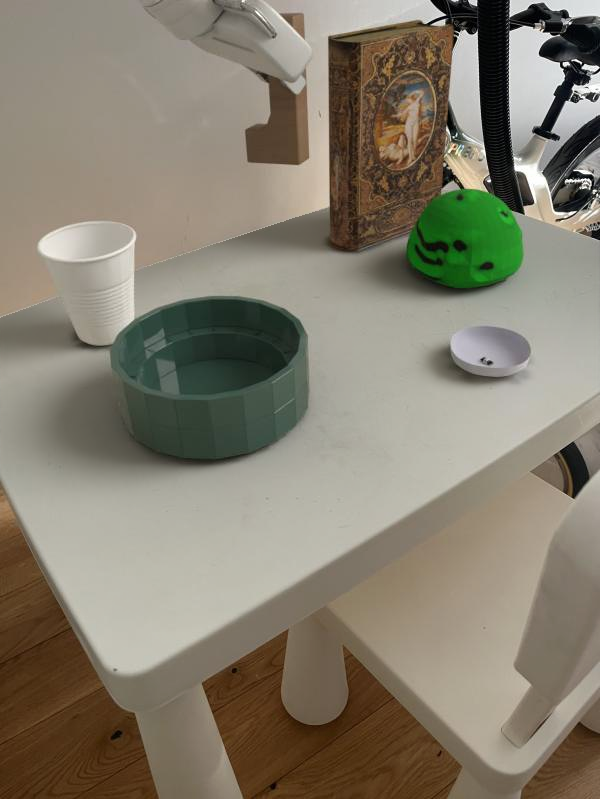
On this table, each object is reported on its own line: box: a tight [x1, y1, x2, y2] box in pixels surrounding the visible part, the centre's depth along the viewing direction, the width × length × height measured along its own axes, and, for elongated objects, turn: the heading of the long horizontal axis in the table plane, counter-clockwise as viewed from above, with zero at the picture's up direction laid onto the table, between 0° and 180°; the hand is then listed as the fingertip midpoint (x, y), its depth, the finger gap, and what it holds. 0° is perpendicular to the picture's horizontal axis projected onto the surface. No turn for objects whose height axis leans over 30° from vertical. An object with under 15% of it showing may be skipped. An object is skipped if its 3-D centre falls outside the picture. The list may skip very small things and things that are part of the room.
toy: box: [405, 188, 524, 289], centre depth 88 cm, size 14×13×10 cm
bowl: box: [109, 295, 310, 460], centre depth 67 cm, size 17×17×7 cm
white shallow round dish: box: [449, 325, 532, 378], centre depth 73 cm, size 8×8×2 cm
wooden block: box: [244, 12, 310, 166], centre depth 81 cm, size 7×3×15 cm, turn 69°
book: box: [327, 19, 455, 253], centre depth 94 cm, size 16×6×25 cm, turn 128°
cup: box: [36, 220, 137, 347], centre depth 78 cm, size 10×10×11 cm
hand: (284, 82), depth 80 cm, fingers closed on wooden block, 4 cm apart
